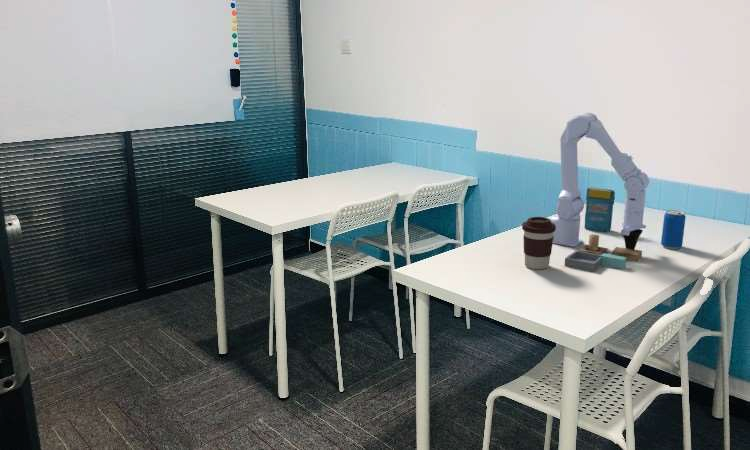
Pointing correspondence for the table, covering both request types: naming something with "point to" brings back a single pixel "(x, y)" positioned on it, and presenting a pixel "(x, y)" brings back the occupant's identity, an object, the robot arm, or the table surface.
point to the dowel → (593, 242)
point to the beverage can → (673, 229)
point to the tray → (583, 261)
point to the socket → (600, 251)
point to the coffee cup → (538, 242)
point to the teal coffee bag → (599, 209)
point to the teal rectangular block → (613, 261)
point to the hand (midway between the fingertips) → (629, 251)
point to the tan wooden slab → (628, 253)
